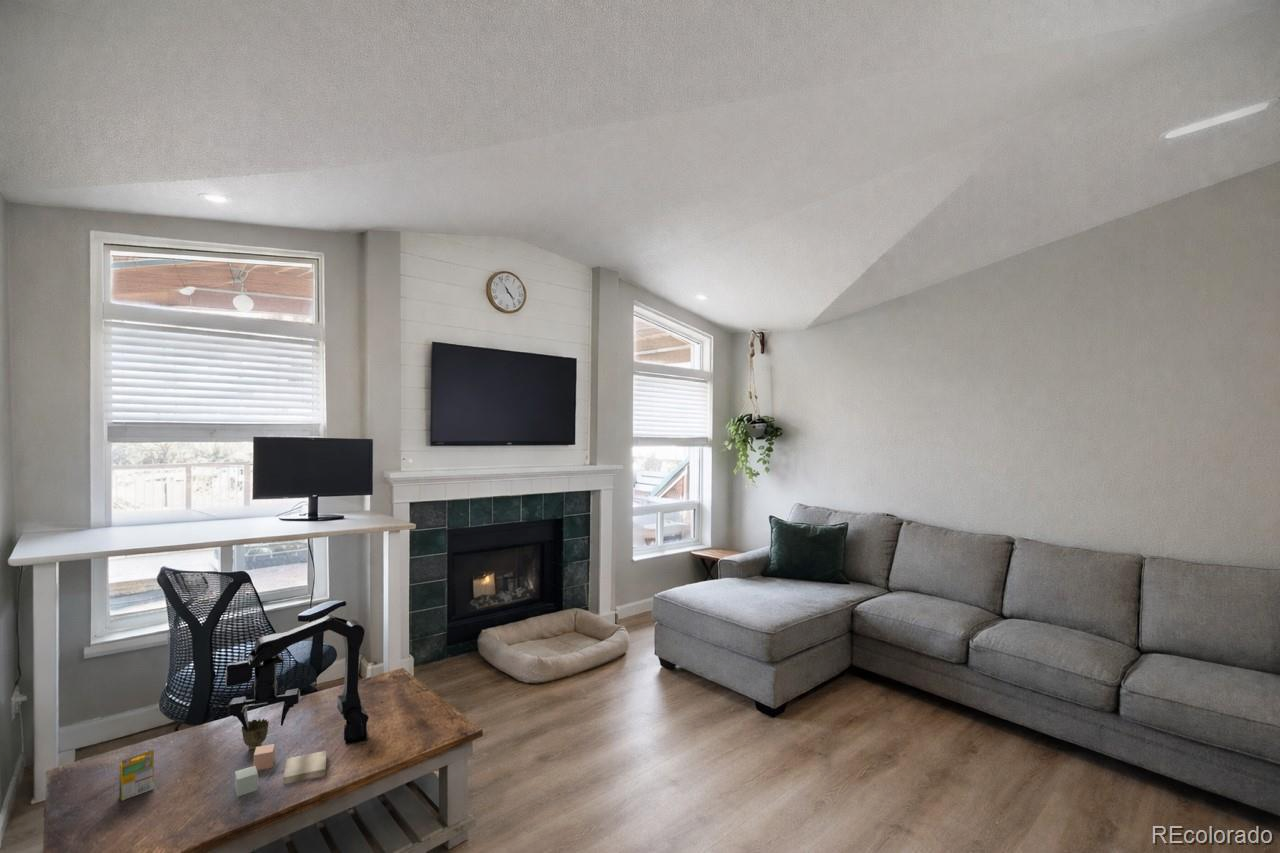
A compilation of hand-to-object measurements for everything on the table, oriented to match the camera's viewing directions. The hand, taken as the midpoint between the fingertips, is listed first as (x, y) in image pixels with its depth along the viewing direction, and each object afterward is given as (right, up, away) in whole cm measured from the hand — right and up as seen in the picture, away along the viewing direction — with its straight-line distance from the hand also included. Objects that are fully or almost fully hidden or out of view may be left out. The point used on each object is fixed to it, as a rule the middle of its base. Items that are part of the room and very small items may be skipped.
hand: (264, 728), depth 187 cm
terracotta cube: (0, -12, 0) cm, 12 cm away
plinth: (+14, -12, -2) cm, 19 cm away
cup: (-9, -11, +9) cm, 17 cm away
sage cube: (+2, -12, -12) cm, 17 cm away
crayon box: (-27, -11, -15) cm, 33 cm away
